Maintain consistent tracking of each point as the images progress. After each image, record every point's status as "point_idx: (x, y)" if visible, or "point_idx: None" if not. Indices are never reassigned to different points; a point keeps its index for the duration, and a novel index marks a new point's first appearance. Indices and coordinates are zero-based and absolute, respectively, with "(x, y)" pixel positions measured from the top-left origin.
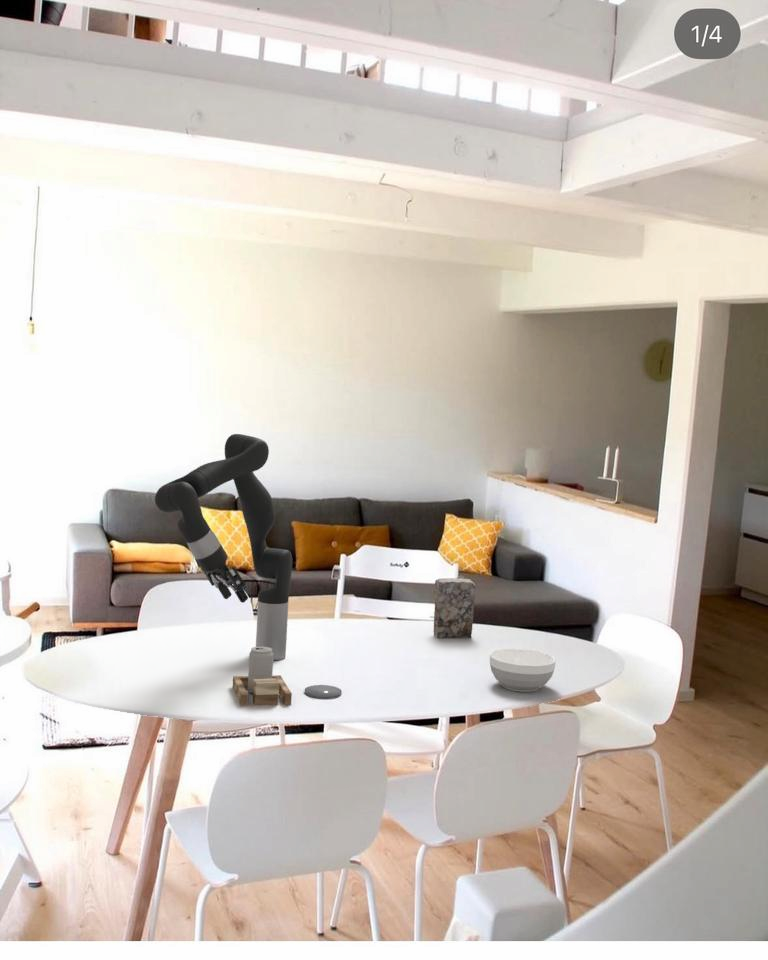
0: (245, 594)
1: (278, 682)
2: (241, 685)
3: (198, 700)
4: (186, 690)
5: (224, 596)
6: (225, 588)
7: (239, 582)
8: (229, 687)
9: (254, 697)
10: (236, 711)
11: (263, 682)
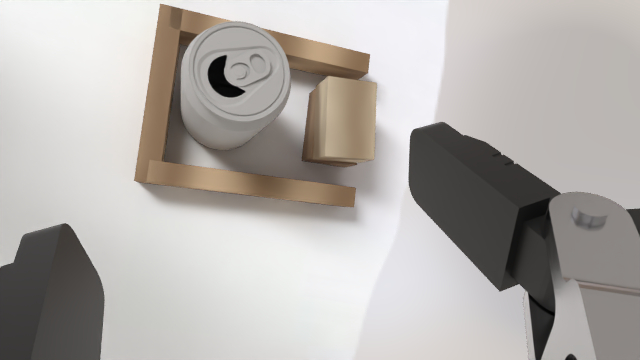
0: (503, 160)
1: (374, 85)
2: (259, 181)
3: (263, 321)
4: (142, 348)
5: (102, 320)
6: (59, 342)
7: (637, 251)
8: (138, 193)
9: (341, 164)
10: (381, 230)
11: (366, 133)
